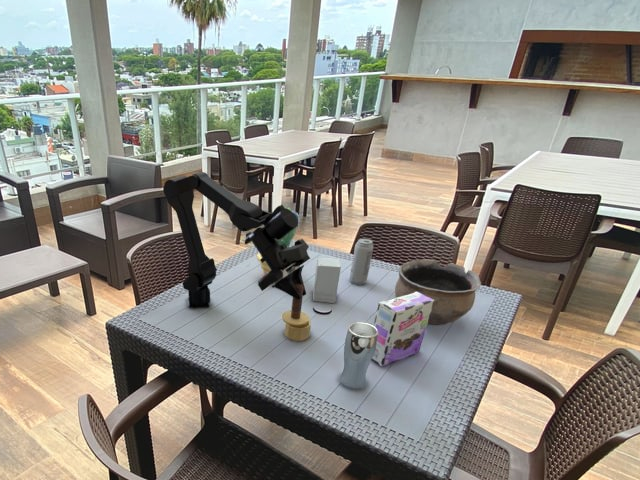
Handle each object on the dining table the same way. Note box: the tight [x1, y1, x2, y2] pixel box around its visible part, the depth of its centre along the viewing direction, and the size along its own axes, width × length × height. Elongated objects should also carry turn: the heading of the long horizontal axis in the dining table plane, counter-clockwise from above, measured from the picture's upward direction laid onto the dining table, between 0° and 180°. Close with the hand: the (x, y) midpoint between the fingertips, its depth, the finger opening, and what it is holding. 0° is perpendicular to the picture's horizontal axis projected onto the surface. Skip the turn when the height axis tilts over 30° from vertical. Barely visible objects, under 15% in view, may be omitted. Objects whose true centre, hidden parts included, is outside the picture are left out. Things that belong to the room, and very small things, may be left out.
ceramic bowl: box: [394, 258, 482, 326], centre depth 130 cm, size 22×22×15 cm
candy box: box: [371, 292, 434, 367], centre depth 112 cm, size 14×6×16 cm, turn 117°
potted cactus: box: [256, 207, 301, 276], centre depth 152 cm, size 15×15×25 cm
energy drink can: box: [349, 238, 375, 285], centre depth 152 cm, size 6×6×15 cm
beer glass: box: [339, 321, 378, 390], centre depth 103 cm, size 7×7×15 cm
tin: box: [284, 320, 312, 342], centre depth 124 cm, size 7×7×4 cm
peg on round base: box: [281, 284, 310, 325], centre depth 118 cm, size 8×8×11 cm
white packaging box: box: [312, 257, 342, 304], centre depth 142 cm, size 7×7×13 cm
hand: (302, 297), depth 116 cm, fingers closed on peg on round base, 2 cm apart
